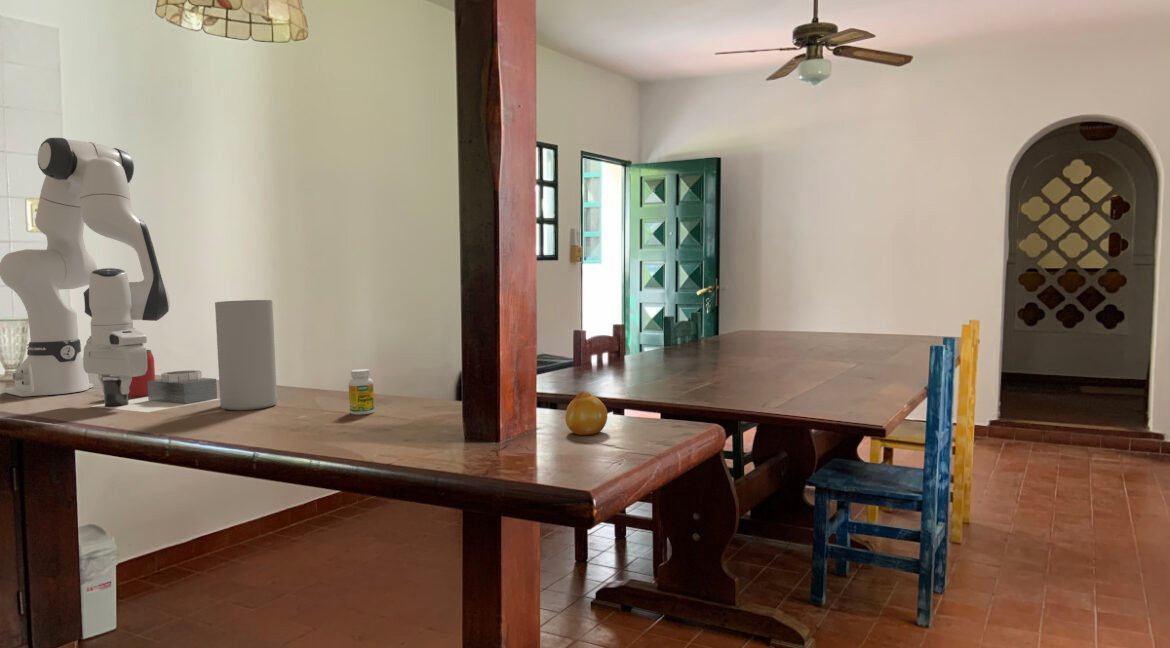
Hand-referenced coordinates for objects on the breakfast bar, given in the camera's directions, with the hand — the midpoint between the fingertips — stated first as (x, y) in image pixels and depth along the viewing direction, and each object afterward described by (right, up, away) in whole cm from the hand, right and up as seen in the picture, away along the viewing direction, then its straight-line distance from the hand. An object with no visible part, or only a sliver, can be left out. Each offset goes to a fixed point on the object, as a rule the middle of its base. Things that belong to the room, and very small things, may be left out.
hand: (116, 393), depth 201 cm
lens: (0, -3, 0) cm, 3 cm away
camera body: (+13, -2, +7) cm, 15 cm away
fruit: (+113, -4, -43) cm, 121 cm away
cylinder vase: (+33, -3, -3) cm, 34 cm away
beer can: (-2, -2, +16) cm, 17 cm away
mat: (+8, -3, +3) cm, 9 cm away
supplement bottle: (+63, -3, -15) cm, 65 cm away
